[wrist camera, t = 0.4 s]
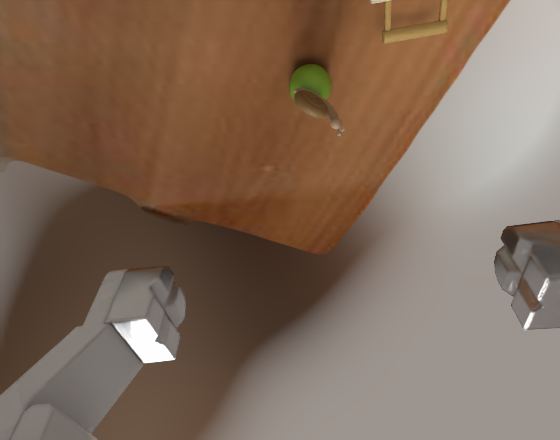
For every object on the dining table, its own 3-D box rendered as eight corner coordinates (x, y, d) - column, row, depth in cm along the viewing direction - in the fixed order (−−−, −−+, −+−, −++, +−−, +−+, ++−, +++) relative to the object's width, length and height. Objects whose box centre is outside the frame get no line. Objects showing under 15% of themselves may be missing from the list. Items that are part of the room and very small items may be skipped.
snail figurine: (322, 106, 55) (330, 152, 46) (282, 87, 53) (282, 130, 44) (343, 72, 51) (356, 113, 42) (300, 50, 49) (305, 88, 40)
